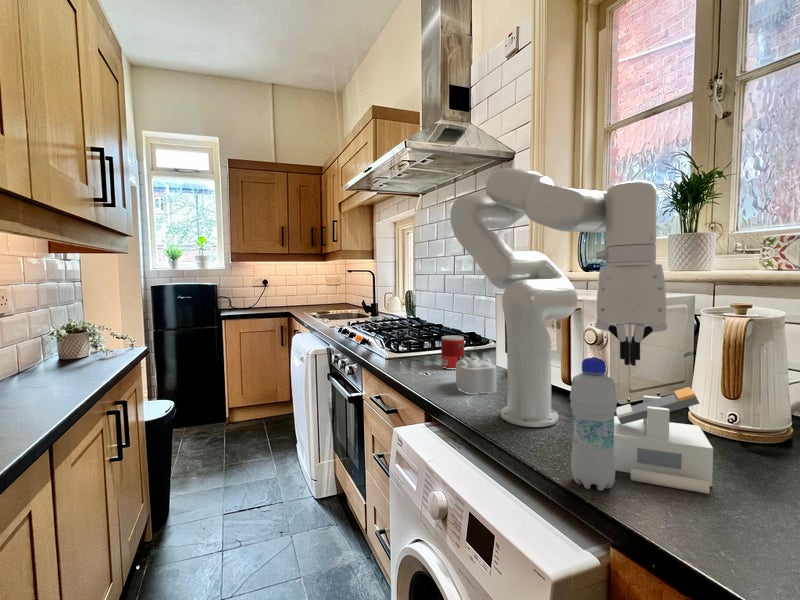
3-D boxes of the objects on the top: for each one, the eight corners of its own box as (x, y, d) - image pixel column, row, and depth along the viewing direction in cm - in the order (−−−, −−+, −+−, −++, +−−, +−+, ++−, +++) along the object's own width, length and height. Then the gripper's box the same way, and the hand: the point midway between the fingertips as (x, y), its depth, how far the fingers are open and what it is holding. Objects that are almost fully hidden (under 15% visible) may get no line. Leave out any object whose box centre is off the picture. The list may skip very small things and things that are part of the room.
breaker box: (608, 446, 78) (608, 390, 77) (698, 459, 72) (699, 398, 71) (609, 469, 69) (610, 406, 68) (712, 487, 63) (714, 417, 62)
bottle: (602, 472, 68) (603, 353, 67) (625, 493, 61) (627, 361, 60) (562, 473, 68) (562, 354, 67) (581, 495, 61) (582, 363, 60)
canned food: (462, 370, 140) (462, 338, 139) (439, 369, 142) (439, 338, 141) (465, 365, 147) (465, 335, 146) (443, 365, 149) (443, 335, 149)
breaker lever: (620, 416, 74) (615, 407, 75) (693, 395, 69) (689, 386, 69) (621, 425, 70) (616, 416, 70) (699, 403, 65) (694, 394, 65)
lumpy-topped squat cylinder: (465, 396, 112) (464, 364, 111) (450, 383, 125) (450, 355, 124) (500, 392, 114) (500, 362, 113) (482, 381, 127) (482, 353, 126)
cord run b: (631, 482, 65) (631, 471, 64) (630, 477, 66) (630, 466, 66) (709, 496, 60) (709, 484, 60) (706, 490, 62) (706, 478, 62)
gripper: (580, 258, 70) (581, 365, 71) (686, 254, 63) (685, 372, 64) (583, 259, 76) (583, 357, 77) (679, 255, 70) (678, 362, 71)
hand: (629, 363), depth 71 cm, fingers closed
